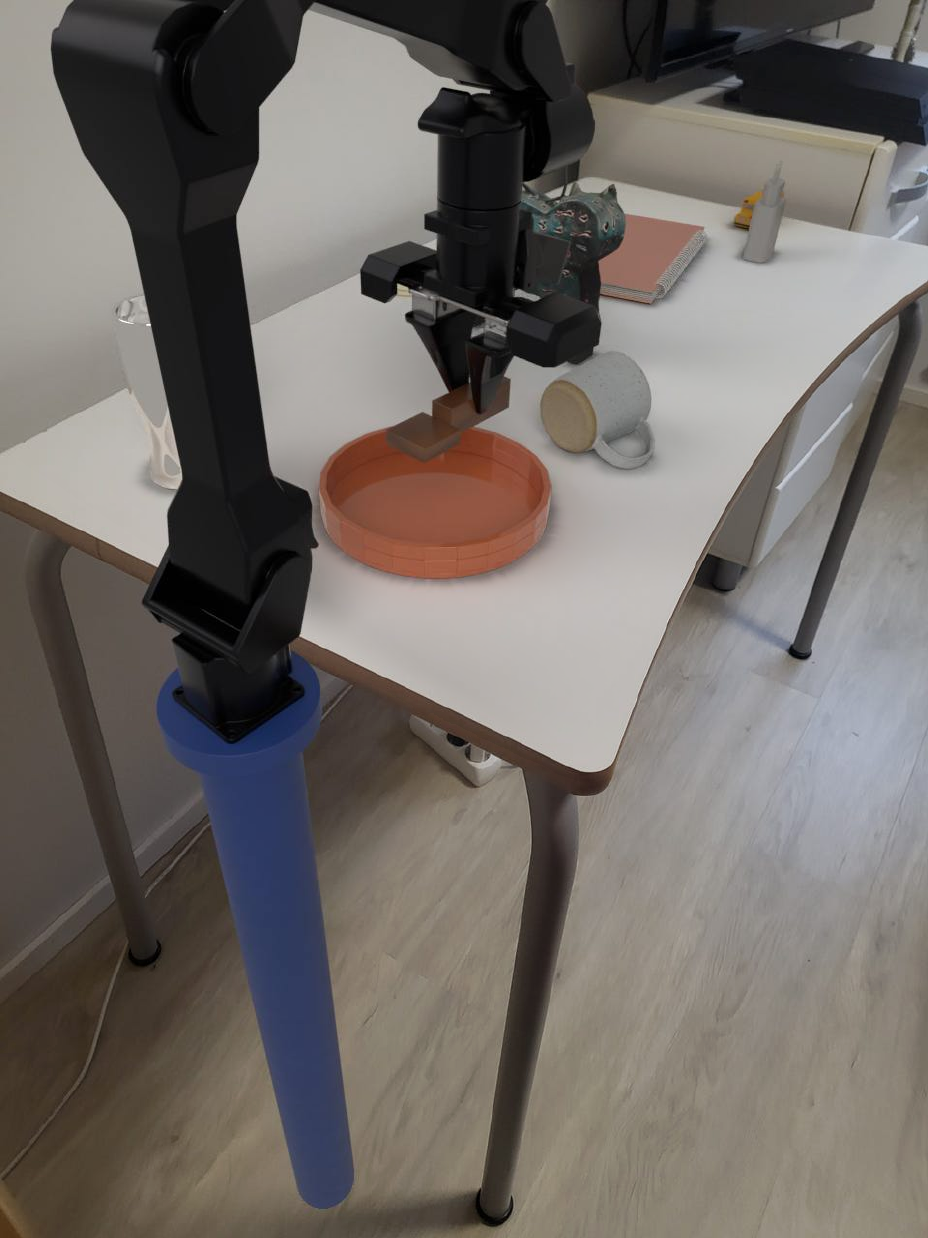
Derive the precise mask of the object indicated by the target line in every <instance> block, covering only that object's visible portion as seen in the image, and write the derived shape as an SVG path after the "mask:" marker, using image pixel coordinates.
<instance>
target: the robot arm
mask: <svg viewBox="0 0 928 1238" xmlns="http://www.w3.org/2000/svg"><path fill="white" fill-rule="evenodd" d="M548 1H549V0H71V2H70V3H69V4H68V5H67V6H66V8H65V9H64V12H63V15H62V17H61V19H60V22H59V24H58V26H57V27H55V28H54V29H52V32H51V40H50V55H51V65H52V74H53V77H54V79H55V83H56V87H57V89H58V91H59V95H60V97H61V99H62V102H63V104H64V107H65V110H66V112H67V115H68V117H69V120H70V123H71V125H72V128H73V131H74V133H75V136H76V138H77V141H78V144H79V146H80V149H81V151H82V154H83V155H84V157H85V159H86V160H87V161H88V163H89V164H90V166H91V167H92V169H93V170H94V173H96V175H97V176H98V178H99V180H100V181H101V183H102V184H103V185H104V187H105V188H106V190H107V191H108V193H109V194H110V196H111V198H112V199H113V201H114V202H115V203H116V205H117V207H118V208H119V209H120V210H121V212H122V213H123V215H124V217H125V219H126V222H127V224H128V227H129V230H130V234H131V239H132V244H133V249H134V253H135V257H136V262H137V266H138V271H139V276H140V281H141V286H142V291H143V293H144V296H145V301H146V305H147V310H148V315H149V319H150V324H151V329H152V334H153V338H154V343H155V348H156V352H157V357H158V362H159V367H160V371H161V376H162V381H163V386H164V390H165V395H166V400H167V404H168V409H169V414H170V419H171V423H172V428H173V433H174V437H175V442H176V447H177V452H178V456H179V461H180V466H181V471H182V481H181V483H180V485H179V487H178V489H177V490H175V493H174V496H173V498H172V499H171V501H170V503H169V506H168V508H167V513H166V522H167V537H168V545H167V548H166V549H165V551H164V554H163V555H162V558H161V560H160V562H159V564H158V566H157V568H156V570H155V573H154V574H153V576H152V578H151V581H150V583H149V585H148V586H147V589H146V591H145V593H144V595H143V597H142V600H141V606H142V607H143V608H144V609H145V610H146V612H147V613H148V614H149V615H150V617H151V618H152V619H153V620H154V621H156V622H157V623H159V624H164V625H165V626H166V627H168V628H170V629H172V630H174V631H175V632H177V633H178V635H175V636H174V637H173V638H172V639H171V643H172V647H173V653H174V656H175V662H176V665H177V668H178V670H179V674H180V678H181V682H182V685H181V686H179V687H178V688H176V689H175V690H173V692H172V696H173V699H174V701H176V702H177V703H178V704H179V705H181V706H182V707H183V708H184V709H185V710H187V711H188V712H189V713H190V714H192V715H193V716H194V717H195V718H197V719H198V720H199V721H200V722H201V723H203V724H204V725H205V726H206V727H208V728H209V729H210V730H211V731H213V732H214V733H215V734H216V735H217V736H219V737H220V738H221V739H222V740H224V741H225V742H226V743H228V744H235V743H237V742H238V741H240V740H241V739H243V738H244V737H245V736H247V735H248V734H250V733H251V732H253V731H254V730H256V729H257V728H259V727H260V726H261V725H263V724H264V723H266V722H267V721H269V720H270V719H272V718H273V717H275V716H276V715H277V714H279V713H280V712H282V711H283V710H285V709H286V708H288V707H289V706H290V705H292V704H293V703H295V702H296V701H298V700H299V699H301V698H302V697H303V696H304V694H305V691H304V687H303V686H302V685H301V684H299V683H298V682H297V681H295V680H294V679H292V678H291V677H290V676H289V674H290V673H292V662H291V654H290V650H291V647H290V644H291V643H293V642H294V641H295V640H296V639H298V638H299V637H300V635H301V633H302V629H303V622H304V618H305V611H306V606H307V601H308V595H309V590H310V582H311V577H312V572H313V552H312V550H313V549H317V548H319V545H320V543H319V541H318V540H317V538H316V536H315V534H314V529H313V508H314V507H313V506H314V505H313V502H312V499H311V496H310V493H309V491H308V490H306V489H304V488H302V487H300V486H298V485H295V484H293V483H291V482H289V481H286V480H284V479H282V478H279V477H278V476H276V475H274V473H273V471H272V468H271V464H270V463H271V462H270V457H269V452H268V451H269V449H268V442H267V435H266V429H265V428H266V427H265V420H264V413H263V406H262V399H261V391H260V385H259V377H258V371H257V363H256V357H255V356H256V355H255V348H254V347H255V346H254V342H253V333H252V326H251V319H250V314H249V313H250V312H249V305H248V298H247V291H246V283H245V276H244V269H243V262H242V261H243V259H242V254H241V245H240V239H239V233H238V223H237V222H238V221H237V219H238V218H237V217H238V212H239V210H240V207H241V205H242V203H243V200H244V198H245V196H246V193H247V191H248V188H249V186H250V183H251V181H252V179H253V177H254V173H255V171H256V169H257V166H258V164H259V160H260V108H261V106H262V105H263V103H264V102H265V101H266V100H267V99H268V98H269V96H270V95H271V94H272V93H273V91H275V89H276V88H277V87H278V86H279V84H280V83H281V82H282V81H283V79H284V78H285V77H286V76H287V74H289V72H290V71H291V70H292V69H293V67H294V65H295V63H296V59H297V54H298V48H299V43H300V36H301V30H302V26H303V20H304V16H305V14H306V13H307V12H308V11H310V12H313V13H317V14H320V15H323V16H326V17H328V18H332V19H335V20H338V21H341V22H344V23H347V24H350V25H353V26H356V27H358V28H362V29H365V30H368V31H370V32H374V33H377V34H380V35H383V36H385V37H389V38H392V39H394V40H396V41H397V42H399V43H400V44H401V45H403V46H404V47H405V50H406V52H407V55H408V56H409V57H410V59H412V60H413V61H415V62H416V63H417V64H419V65H420V66H421V67H424V69H426V70H428V71H429V72H431V73H432V74H434V75H435V76H438V77H440V78H445V79H451V80H452V81H453V82H454V83H455V84H456V85H458V86H463V87H469V88H474V89H475V88H476V89H478V90H479V89H480V90H484V91H489V93H487V92H476V93H471V92H469V91H465V90H461V89H455V88H450V87H445V86H442V87H441V88H440V89H439V91H438V93H437V96H436V97H435V98H434V100H433V101H432V102H431V103H430V105H428V106H426V108H425V109H424V110H423V111H422V113H421V114H420V117H419V118H418V120H417V129H418V130H419V131H420V132H424V133H429V134H434V135H437V153H436V155H437V157H436V158H437V159H436V160H437V161H436V162H437V163H436V164H437V165H436V168H437V169H436V171H437V172H436V210H432V211H430V212H426V213H424V215H423V216H424V217H423V220H424V222H423V226H424V230H425V231H428V232H431V233H433V234H436V249H433V248H430V247H428V246H425V245H422V244H419V243H417V242H414V241H411V240H408V241H405V242H401V243H399V244H396V245H393V246H390V247H386V248H384V249H381V250H378V251H376V252H372V253H369V254H368V255H367V256H366V258H365V260H364V262H363V264H362V265H361V267H360V269H359V272H360V273H359V276H360V277H359V278H360V294H361V295H362V296H365V297H367V298H370V299H373V300H374V301H377V302H380V303H382V304H388V303H390V302H391V301H392V300H394V299H395V297H396V296H398V285H400V286H402V287H405V288H408V289H407V290H408V294H410V295H411V310H410V311H407V312H405V313H404V319H405V322H406V323H407V324H410V325H411V326H412V327H413V329H414V331H415V333H416V335H417V336H418V337H419V340H420V341H421V342H422V344H423V346H424V348H425V350H426V351H427V353H428V354H429V357H430V358H431V360H432V362H433V364H434V366H435V367H436V369H437V372H438V374H439V376H440V378H441V380H442V382H443V384H444V386H445V388H446V390H447V393H449V392H451V391H453V390H455V389H457V388H459V387H461V386H463V385H465V384H467V383H469V382H470V384H471V391H472V398H473V402H474V406H475V410H476V413H478V414H482V413H484V412H486V411H488V409H489V408H490V405H491V403H492V401H493V399H494V397H495V394H496V392H497V390H498V388H499V385H500V383H501V381H502V379H503V377H505V375H506V372H507V370H508V368H509V366H510V364H511V362H512V361H513V359H514V358H515V357H516V358H518V359H521V360H523V361H526V362H528V363H531V364H533V365H535V366H538V367H541V368H545V369H546V368H551V369H552V368H553V369H554V368H555V369H556V368H557V367H559V366H561V365H563V364H565V363H566V362H569V360H570V359H572V358H574V357H576V356H578V355H580V354H582V353H584V352H586V351H588V350H590V349H592V348H594V349H595V347H597V346H599V345H600V339H601V333H602V324H603V322H602V317H601V313H600V311H599V312H598V311H597V309H596V308H595V306H593V305H590V304H588V303H585V302H582V301H579V300H576V299H573V298H570V297H568V296H565V295H562V294H559V293H556V292H555V293H552V294H550V295H548V296H546V297H543V298H539V299H537V300H533V299H529V298H527V297H523V296H515V294H516V291H518V290H520V289H521V290H520V291H522V290H524V291H525V290H527V289H530V288H532V287H534V286H535V278H538V279H544V280H548V281H550V282H551V283H552V284H557V285H558V284H559V282H560V278H561V275H562V272H563V268H564V265H565V261H566V258H567V254H568V251H569V248H570V244H571V242H570V241H567V240H564V239H561V238H557V237H554V236H551V235H548V234H545V233H542V232H538V231H535V230H533V228H534V219H533V217H532V212H530V211H526V210H523V209H521V198H522V191H523V186H522V183H523V182H524V183H528V182H532V181H534V180H537V179H539V178H542V177H544V176H546V175H548V174H552V173H553V172H556V171H558V170H561V169H564V168H565V167H566V166H567V167H568V166H570V165H573V164H575V163H577V162H578V161H579V160H581V159H582V158H583V157H584V156H585V154H586V153H587V152H588V151H589V149H590V147H591V145H592V144H593V140H594V136H595V133H596V132H595V131H596V120H595V118H594V111H593V108H592V106H591V103H590V100H589V98H588V97H587V94H585V92H584V91H583V89H582V88H580V86H578V84H576V83H575V78H576V68H577V67H576V64H575V63H571V62H566V60H565V57H564V52H563V49H562V46H561V42H560V38H559V34H558V31H557V27H556V23H555V20H554V17H553V14H552V12H551V9H550V7H549V6H548V5H547V3H548ZM524 291H523V292H524ZM599 313H600V314H599ZM478 315H480V316H482V317H485V321H484V325H483V332H481V333H479V334H476V335H474V336H472V332H473V328H474V327H475V326H474V324H475V322H476V320H477V318H478ZM473 326H474V327H473ZM296 691H299V692H296ZM179 694H182V695H179ZM231 735H234V736H233V737H229V736H231Z"/></svg>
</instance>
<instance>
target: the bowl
mask: <svg viewBox="0 0 928 1238" xmlns="http://www.w3.org/2000/svg"><path fill="white" fill-rule="evenodd" d="M393 426H394V425H392V426H388V427H384V428H380V429H377V430H374V431H370V432H367V433H364V434H363V435H360V436H358V437H356V438H355V439H352V440H350V441H348V442H347V443H344V444H343V445H342V446H341V447H340V448H338V449H337V450H336V451H335V452H334V453H333V454H331V455H330V456H329V457H328V459H327V461H326V463H325V464H324V465H323V468H322V469H321V471H320V473H319V481H318V497H319V507H320V515H321V520H322V524H323V527H324V529H325V531H326V533H327V535H328V537H329V538H330V539H331V540H332V542H333V543H334V544H335V545H336V546H337V547H338V548H339V549H341V551H343V552H344V553H346V554H347V555H348V556H350V557H351V558H353V559H354V560H356V561H359V562H360V563H362V564H364V565H366V566H369V567H372V568H374V569H376V570H380V571H382V572H386V573H389V574H394V575H399V576H403V577H404V576H405V577H409V578H411V577H412V578H421V579H454V578H455V579H457V578H463V577H469V576H475V575H480V574H484V573H487V572H490V571H491V572H492V571H494V570H497V569H501V568H503V567H504V566H506V565H509V564H510V563H513V562H515V561H517V560H518V559H520V558H522V557H523V556H524V555H526V554H527V553H528V552H529V551H530V550H531V549H533V548H534V547H535V545H536V544H537V543H538V542H539V541H540V539H541V537H542V536H543V534H544V533H545V530H546V528H547V525H548V518H549V513H550V505H551V499H552V498H551V496H552V489H553V487H552V482H551V478H550V474H549V471H548V469H547V467H546V466H545V464H544V463H543V462H542V461H541V460H540V458H539V457H538V456H537V455H536V454H535V453H533V452H532V451H531V450H530V449H528V448H527V447H526V446H524V445H523V444H522V443H520V442H518V441H516V440H515V439H512V438H510V437H507V436H506V435H503V434H501V433H499V432H495V431H492V430H489V429H485V428H481V427H477V426H474V427H472V428H470V429H468V430H466V431H464V432H462V433H461V438H460V444H458V445H457V446H455V447H453V448H451V449H449V450H447V451H446V452H444V453H442V454H440V455H438V456H437V457H435V458H433V459H431V460H429V461H427V462H426V463H423V462H421V461H419V460H417V459H415V458H413V457H411V456H409V455H407V454H405V453H403V452H401V451H399V450H397V449H395V448H393V447H391V446H389V445H387V444H386V430H387V429H389V428H391V427H393Z"/></svg>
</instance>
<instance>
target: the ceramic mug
mask: <svg viewBox="0 0 928 1238" xmlns="http://www.w3.org/2000/svg"><path fill="white" fill-rule="evenodd" d="M648 381H649V380H648V379H647V377H646V374H645V373H644V371H643V370H642V368H641V367H640V366H639V364H638V363H637V362H636V360H634V359H633V358H631V356H628V355H627V354H625V353H623V352H620V351H614V350H610V351H606V352H603V353H601V354H599V355H597V356H595V357H593V358H592V359H590V360H587V361H586V362H584V363H582V364H580V365H578V366H576V367H575V368H573V369H571V370H569V371H567V372H565V373H562V374H561V375H559V376H557V378H555V379H554V380H553V381H552V382H551V383H550V384H548V385H547V386H546V388H545V389H544V391H543V393H542V394H541V398H540V404H539V410H540V418H541V421H542V425H543V427H544V430H545V431H546V433H547V435H548V436H549V438H550V439H551V440H552V441H553V442H554V443H555V444H556V445H557V446H559V448H561V449H563V450H565V451H568V452H571V453H582V452H587V451H591V450H595V452H596V453H597V454H598V455H599V457H600V458H601V459H603V460H604V461H606V462H607V463H608V464H610V465H611V466H613V467H616V468H619V469H623V470H624V469H625V470H631V469H637V468H639V467H641V466H643V465H645V463H647V461H648V460H649V459H650V457H651V456H652V455H653V453H654V451H655V448H656V439H655V434H654V433H653V430H652V427H651V426H650V424H649V423H648V421H647V420H648V417H649V416H650V412H651V408H652V392H651V387H650V384H649V382H648ZM635 431H637V432H638V434H639V437H641V440H642V441H643V444H644V447H645V454H643V455H640V456H635V457H634V456H633V457H632V456H626V455H622V454H621V453H618V452H617V451H615V450H613V448H612V447H610V446H609V445H608V444H607V443H609V442H612V441H614V440H615V439H618V438H621V437H623V436H625V435H627V434H629V433H632V432H635Z"/></svg>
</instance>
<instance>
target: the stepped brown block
mask: <svg viewBox="0 0 928 1238" xmlns="http://www.w3.org/2000/svg"><path fill="white" fill-rule="evenodd" d="M511 381H512V379H511V378H510V377H507V376H504V377H503V379H502V381H501V383H500V385H499V388H498V390H497V392H496V394H495V397H494V399H493V401H492V403H491V405H490V408H489V409H488V411H486V412H484V413H482V414H478V413H476V410H475V406H474V402H473V398H472V391H471V384H470V381H469V383H467V384H465V385H463V386H461V387H459V388H457V389H455V390H453V391H451V392H446V393H444V394H442V395H441V396H438V397H436V398H435V399H432V401H431V402H432V403H431V406H432V407H431V414H429V413H426V412H424V411H421V412H419V413H417V414H415V415H413V416H411V417H409V418H407V419H404V420H403V421H401V422H399V423H397V424H394V425H392V426H393V427H391V426H390V427H391V428H389V429H387V430H386V444H387V445H389V446H391V447H393V448H395V449H397V450H399V451H401V452H403V453H405V454H407V455H409V456H411V457H413V458H415V459H417V460H419V461H421V462H423V463H426V462H427V461H429V460H431V459H433V458H435V457H437V456H438V455H440V454H442V453H444V452H446V451H447V450H449V449H451V448H453V447H455V446H457V445H458V444H460V438H461V433H462V432H464V431H466V430H468V429H470V428H472V427H476V426H478V425H479V424H481V423H483V422H485V421H487V420H489V419H491V418H492V417H494V416H496V415H498V414H500V413H502V412H504V411H505V410H507V409H509V408H510V396H511V384H512V383H511Z"/></svg>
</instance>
